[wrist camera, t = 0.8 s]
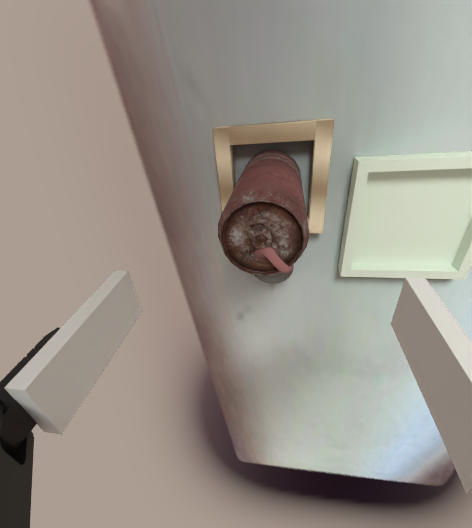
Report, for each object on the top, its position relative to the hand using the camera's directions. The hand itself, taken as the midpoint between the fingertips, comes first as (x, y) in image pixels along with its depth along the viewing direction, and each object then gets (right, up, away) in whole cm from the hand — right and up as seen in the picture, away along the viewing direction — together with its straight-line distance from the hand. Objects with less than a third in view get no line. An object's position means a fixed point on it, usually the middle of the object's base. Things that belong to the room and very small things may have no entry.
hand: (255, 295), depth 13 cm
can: (+3, +11, +16) cm, 19 cm away
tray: (+18, +7, +15) cm, 24 cm away
